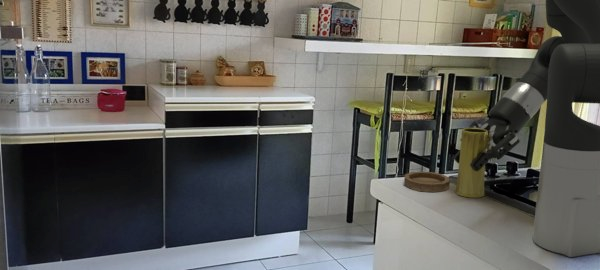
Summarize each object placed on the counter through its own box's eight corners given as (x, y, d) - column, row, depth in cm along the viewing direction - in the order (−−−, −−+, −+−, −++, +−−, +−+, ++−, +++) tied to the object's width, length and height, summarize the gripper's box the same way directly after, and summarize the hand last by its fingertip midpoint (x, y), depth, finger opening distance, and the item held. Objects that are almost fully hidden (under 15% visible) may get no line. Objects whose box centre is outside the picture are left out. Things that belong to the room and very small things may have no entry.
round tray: (457, 189, 112) (458, 182, 112) (418, 193, 109) (418, 186, 109) (433, 177, 121) (434, 170, 121) (396, 180, 118) (396, 173, 118)
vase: (487, 192, 110) (492, 129, 107) (480, 200, 105) (486, 134, 102) (459, 187, 114) (464, 126, 111) (451, 195, 108) (456, 130, 105)
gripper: (485, 92, 114) (436, 146, 113) (531, 100, 100) (475, 162, 99) (503, 114, 116) (455, 167, 115) (549, 125, 103) (495, 185, 102)
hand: (464, 164), depth 107 cm, fingers closed on vase, 5 cm apart
